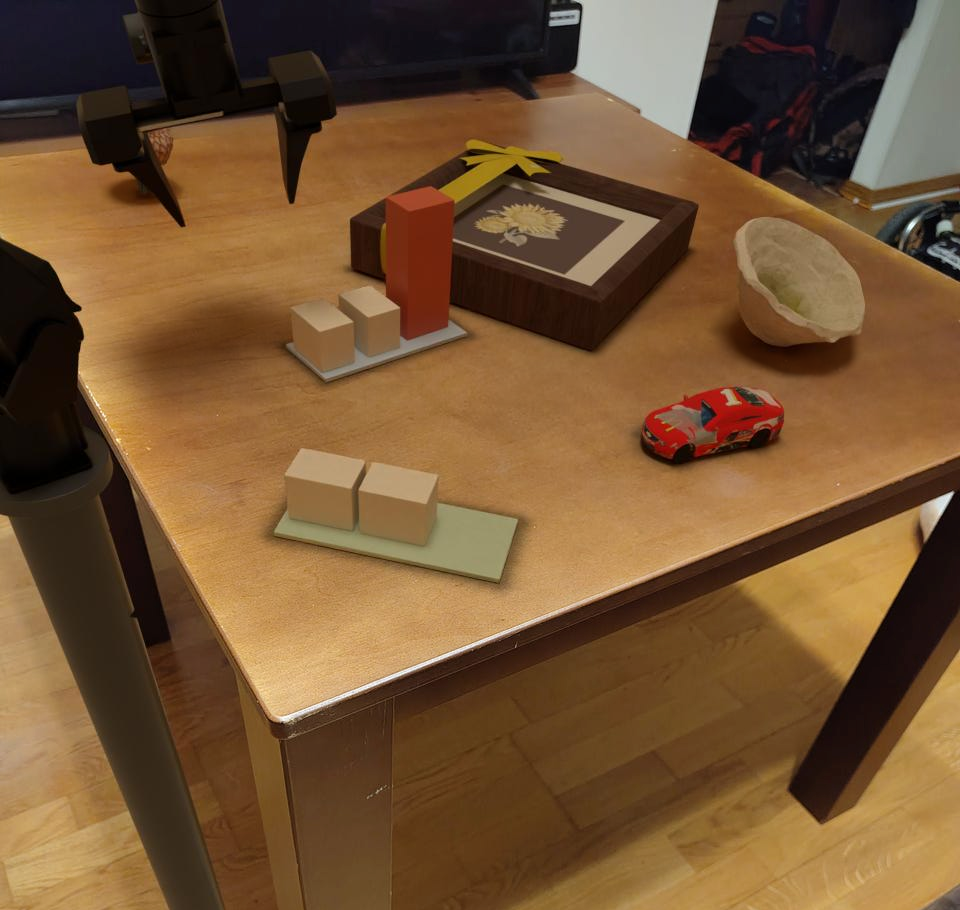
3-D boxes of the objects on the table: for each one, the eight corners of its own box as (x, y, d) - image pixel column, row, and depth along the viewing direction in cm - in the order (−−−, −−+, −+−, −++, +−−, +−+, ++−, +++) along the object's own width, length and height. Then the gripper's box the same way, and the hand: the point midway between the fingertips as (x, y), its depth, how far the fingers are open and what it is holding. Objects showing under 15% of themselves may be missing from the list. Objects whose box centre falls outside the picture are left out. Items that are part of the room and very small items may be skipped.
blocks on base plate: (325, 382, 79) (323, 337, 76) (286, 348, 83) (281, 303, 80) (467, 336, 87) (470, 293, 84) (425, 305, 90) (426, 263, 87)
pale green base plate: (273, 535, 65) (267, 488, 62) (307, 479, 70) (303, 432, 67) (499, 583, 64) (505, 536, 60) (517, 522, 68) (524, 476, 65)
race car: (656, 470, 74) (667, 429, 71) (627, 433, 78) (636, 393, 75) (787, 444, 78) (803, 405, 75) (753, 410, 81) (767, 371, 78)
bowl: (805, 394, 84) (845, 292, 77) (682, 336, 90) (708, 236, 83) (875, 342, 92) (917, 245, 85) (758, 291, 98) (788, 197, 91)
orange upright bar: (407, 340, 85) (409, 211, 76) (385, 325, 86) (385, 196, 77) (448, 326, 87) (455, 199, 78) (427, 311, 89) (431, 185, 80)
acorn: (149, 174, 107) (132, 79, 100) (198, 194, 104) (183, 98, 97) (93, 193, 102) (70, 95, 95) (142, 214, 99) (122, 116, 92)
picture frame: (345, 207, 89) (487, 126, 107) (347, 271, 94) (482, 183, 112) (601, 290, 81) (706, 188, 100) (589, 355, 86) (691, 247, 105)
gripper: (286, -66, 67) (324, 143, 80) (35, -23, 65) (116, 186, 78) (318, -7, 61) (353, 209, 74) (43, 43, 59) (129, 257, 72)
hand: (237, 212), depth 75 cm, fingers open, 9 cm apart
